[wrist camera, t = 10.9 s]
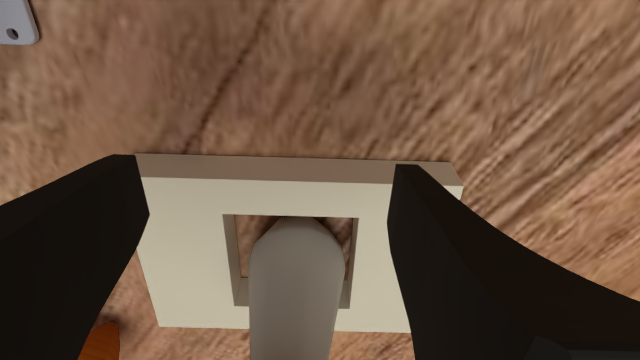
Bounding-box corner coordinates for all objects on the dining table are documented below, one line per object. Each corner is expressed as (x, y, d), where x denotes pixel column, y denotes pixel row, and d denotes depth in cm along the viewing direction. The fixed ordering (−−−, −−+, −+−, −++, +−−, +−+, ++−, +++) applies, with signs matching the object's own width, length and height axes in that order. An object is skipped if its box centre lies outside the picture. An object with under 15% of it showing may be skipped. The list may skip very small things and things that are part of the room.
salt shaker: (327, 278, 28) (330, 508, 17) (247, 261, 27) (195, 490, 16) (355, 215, 25) (382, 444, 14) (266, 193, 24) (218, 417, 13)
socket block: (171, 297, 29) (159, 326, 27) (134, 153, 22) (115, 176, 20) (416, 303, 29) (424, 333, 27) (450, 162, 23) (463, 186, 20)
